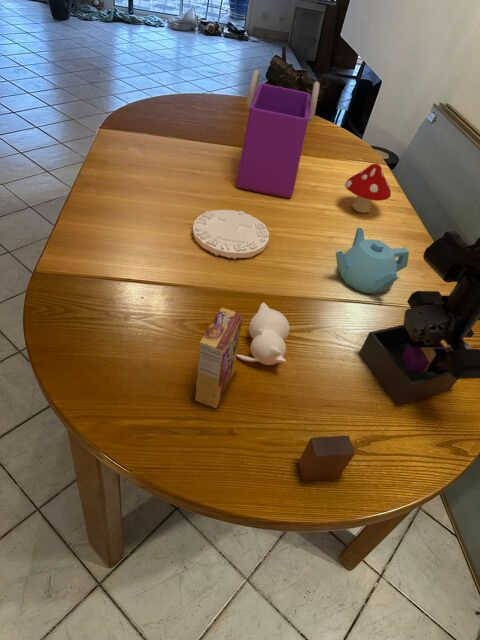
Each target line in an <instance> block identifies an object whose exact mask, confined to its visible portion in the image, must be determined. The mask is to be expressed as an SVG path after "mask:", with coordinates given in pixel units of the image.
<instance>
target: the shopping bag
mask: <svg viewBox="0 0 480 640" xmlns="http://www.w3.org/2000/svg"><path fill="white" fill-rule="evenodd" d="M260 73H261V72H260V70H259V69H254V71H253V72H252V76H251V80H250V84H249V88H248V94H247V98H246V107H247V109H248V117H247V121H246V122H247V123H246V127H245V128H246V129H245V134H244V138H243V144H242V150H241V155H240V162H239V167H238V173H237V178H236V187H237V188H239V189H241V190H245V191H250V192H254V193H255V192H256V193H260V194H265V195H270V196H275V197H279V198H286V199H290V198H292V196H293V194H294V189H295V186H296V181H297V175H298V171H299V166H300V161H301V156H302V151H303V146H304V142H305V138H306V132H307V127H308V123H310V122H311V121H312V120H313V119H314V117H315V114H316V110H317V109H316V108H317V103H318V98H319V93H320V87H321V86H320V85H321V84H320V82H319V81H315V82H313V85H312V90H311V93H309V92H307V91H302V90H297V89H291V88H287V87H281V86H277V85H273V84H267V83H259V80H260Z"/></svg>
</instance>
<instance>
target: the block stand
mask: <svg viewBox="0 0 480 640" xmlns="http://www.w3.org/2000/svg"><path fill="white" fill-rule="evenodd" d="M350 438H351V437H350V435H335V436H334V435H333V436H331V435H330V436H315V437H314V436H313V437H310V439H308V442H307V444H306V446H305V448H304V450H303V452H302V454H301V456H300V458H299V460H298V462H297V465H298V469H299V473H300V477H301V480H302V482H309V481H312V482H313V481H322V480H323V481H325V480H334V479H335V480H337V479H340V477H341V476H342V474H343V473H344V471H345V470H346V469H347V466H348V465H349V464H350V463H351V460H352V459H353V458H354V457H355V455H356V451H355V449H354V447H353V443H352V441H351V439H350Z"/></svg>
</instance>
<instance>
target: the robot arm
mask: <svg viewBox="0 0 480 640" xmlns="http://www.w3.org/2000/svg"><path fill="white" fill-rule="evenodd" d="M423 261H424V262H425V263H426V264H427V265H428V266H429V267H430V268H431V270H432V271H434V272H435V274H437V275H438V276H439V277H440V279H442V281H443V282H445V283H456V284H455V285H454V287H453V288H452V290H451V291H450V293H449V295H442V294H441V292H440V291H438V290H436V291H435V290H416V291H414V292H412V293H411V294H410V296H409V297H408V298H407V301H406V303H407V305H408V306H409V308H407V309H406V310H405V311H404V317H403V324H402V325H404V327H405V328H406V330H407V332H408V333H409V335H410V338H411V339H412V340H413V341H420V342H419V348H420V347H432V346H433V345H434V344H435V343H439V342H442V341H443V342H444V344H445V348H436V349H434V351H435V352H436V356H435V357H434V359H433V360H432V362H431V363H430V365H429V367H428V369H427V371H428V372H433V371H435V370H438V369H440V368H442V367H445V366H447V368H448V370H449V371H450V373H451V375H452V376H453V377H455V378H456V379H458V380H468V379H469V380H471V379H480V348H473V347H472V345H471V344H470V343H469V342H467V341H465V340H464V339H467V338H473V336H474V335H475V332H474V331H473V329H472V328H473V327H474V326H475V325H476V323H477V322H478V321H480V236H479V237H478V238H477V239H476V241H475V242H474V243H473V244H469V243H467V242H466V241H465V240H464V239H463V238H462V236H461V235H460V234H459V233H458V232H457V231H455V230H453V231H445V232H444V234H443V235H442V237H439V238H437V239H436V240H434V241H433V242H432V243H431V244H430V245H428V246H427V247H426V248H425V250H424V252H423Z"/></svg>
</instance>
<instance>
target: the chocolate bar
mask: <svg viewBox="0 0 480 640" xmlns="http://www.w3.org/2000/svg"><path fill="white" fill-rule="evenodd" d="M445 347H446V346H445ZM445 347H420V348H406V349H405V351H404V353H403V354H402V356H401V357H402V359H403V361H404V362H405V364H406V366H407V368H408V370H409V371H427V369H428V367H429V365H430V363H431V362H432V360H433V359H434V357H435V356H436V352H435V351H434V349H436V348H445ZM438 370H448V368H447V366H445V367H442V368H440V369H438ZM438 370H435V371H438Z"/></svg>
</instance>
